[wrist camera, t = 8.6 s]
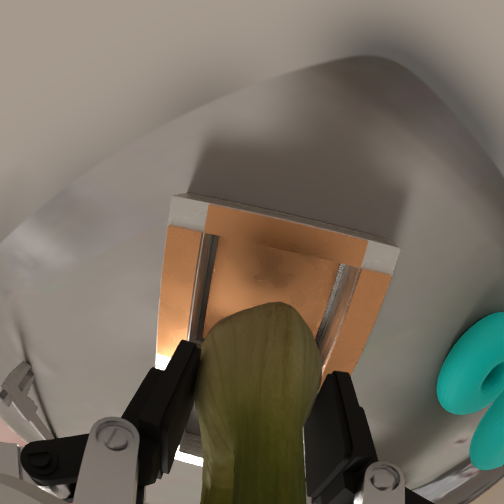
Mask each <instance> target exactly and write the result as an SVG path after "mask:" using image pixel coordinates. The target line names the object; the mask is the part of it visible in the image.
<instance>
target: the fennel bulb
mask: <svg viewBox="0 0 504 504" xmlns="http://www.w3.org/2000/svg"><path fill="white" fill-rule="evenodd" d="M321 381H322V360H321V355H320V351H319V348H318V346H317V344H316V342H315V339H314V336H313V334H312V332H311V330H310V328H309V327H308V325H307V323H306V322H305V320H304V319H303V318H302V317H301V315H300V314H299V313H298V311H297V310H296V309H295V308H294V307H292V306H291V305H289V304H286V303H283V302H268V303H265V304H262V305H258V306H255V307H252V308H248V309H245V310H242V311H239V312H236V313H234V314H232V315H229V316H227V317H225V318H222V319H221V320H219V321H218V322H217V323H216V324H215V325H214V326H213V327H212V328H211V330H210V331H209V332H208V334H207V336H206V338H205V339H204V341H203V343H202V345H201V357H200V363H199V366H198V370H197V375H196V380H195V384H194V400H195V406H196V412H197V416H198V419H199V425H200V432H201V440H202V452H203V465H202V468H203V473H202V482H203V483H202V493H201V502H200V504H306V484H305V473H304V472H305V470H304V469H305V466H304V444H303V426H304V424H305V423H306V421H307V418H308V416H309V415H310V413H311V411H312V409H313V406H314V404H315V401H316V399H317V394H318V391H319V389H320V385H321Z"/></svg>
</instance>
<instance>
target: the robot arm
mask: <svg viewBox="0 0 504 504" xmlns="http://www.w3.org/2000/svg"><path fill="white" fill-rule="evenodd" d="M200 357H201V348H197V344H196V343H194V342H190V341H186V340H183V339H182V340H181V341H180V343H179V344H178V346H177V348H176V350H175V352H174V353H173V355H172V357H171V359H170V361H169V363H168V364H167V366H166V368H165V370H161V369H158V368H155V367H152V368H151V369H150V370H149V372H148V374H147V375H146V377H145V379H144V380H143V382H142V383H141V385H140V387H139V388H138V390H137V392H136V393H135V395H134V397H133V398H132V400H131V402H130V403H129V405H128V407H127V408H126V410H125V412H124V414H123V415H122V417H121V418H119V417H105V418H102V419H100V420H98V421H97V422H96V423H94V424H93V426H92V428H91V430H90V433H89V434H83V435H77V436H71V437H64V438H57V439H50V440H41V441H34V442H30V443H29V444H27V445H25V447H19V446H18V444H14V443H4V442H0V504H70V503H73V504H145V501H146V486H147V485H150V484H153V483H155V481H156V479H157V478H158V479H161V478H162V475H163V473H166V474H169V472H170V470H171V467H172V464H173V461H174V458H175V456H176V453H177V450H178V447H179V444H180V441H181V439H182V436H183V433H184V430H185V427H186V424H187V421H188V419H189V416H190V413H191V410H192V407H193V404H194V384H195V380H196V375H197V370H198V366H199V363H200ZM304 445H305V464H306V482H305V484H306V504H434V503H432V502H430V501H429V500H427V499H425V498H423V497H422V496H420V495H418V494H416V493H415V492H413V491H411V490H409V489H408V488H406V487H405V480H404V475H403V473H402V471H401V469H400V468H399V467H398V466H397V465H395V464H393V463H391V462H387V461H378V458H377V455H376V451H375V447H374V443H373V440H372V436H371V433H370V429H369V426H368V422H367V419H366V415H365V412H364V410H363V408H362V407H360V406H359V404H358V400H357V397H356V393H355V390H354V387H353V383H352V380H351V377H350V374H349V373H348V372H343V371H333V372H332V374H327V376H326V378H325V380H324V382H323V384H322V386H321V388H320V390H319V392H318V395H317V399H316V401H315V404H314V406H313V409H312V411H311V413H310V415H309V416H308V418H307V421H306V423H305V424H304Z"/></svg>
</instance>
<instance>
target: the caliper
mask: <svg viewBox="0 0 504 504" xmlns="http://www.w3.org/2000/svg"><path fill="white" fill-rule="evenodd" d="M30 367H31V365H29V364H28V363H26V362H24V361H23V362H22V363H20V364H19V365H18V366H17V367H16V368H15V369H14V370H13V371H11V372H10V373H9V375H8V376H7V378H6V379H5V381H4V382H3V384H2V385H1V387H2V389H3V390H2V391H1V393H0V398H1V399H2V400H3V403H4V404H5V405H6V406H7V407H9V406H10V404H11V403H12V404H13V406H14V407H15V408H16V409H17V411H18V412H19V413H20V415H21V416H22V417H23V418H24V419H25V420H26V421H28V422H30V423H31V425H32V426H33V427H34V428H35V430H36V431H37V432H38V433H39V434H40V436H41V437H42V438H43V439H44V440H50V439H55V438H54V437H53V435H52V434H51V433H50V432H49V430H48V429H47V428H46V426H45V425H44V424H43V422H42V421H41V419H40V418H39V417H38V415H37V414H36V410H37V409H38V407H37V406H36V405H35V404H34V401H33V400H31V399H30V398H29V397H28V396H27V395H28V392H29V390H30V387H31V385H32V383H33V380H34V378H35V377H34V374H32V373H31V372H29V371H28V370H29V369H30ZM26 373H27V374H26Z"/></svg>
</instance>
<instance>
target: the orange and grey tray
mask: <svg viewBox="0 0 504 504" xmlns="http://www.w3.org/2000/svg"><path fill="white" fill-rule="evenodd" d="M213 235H217V236H219V240H218V246H217V251H216V257H215V263H214V268H213V274H212V280H211V286H210V292H209V298H208V304H207V311H206V317H205V323H204V330H203V336H202V338H206V336H207V334H208V332H209V331H210V330H211V328H212V327H213V326H214V325H215V324H216V323H217V322H218V321H219V320H221V319H222V318H225V317H227V316H229V315H232V314H234V313H236V312H239V311H242V310H245V309H248V308H252V307H255V306H258V305H262V304H265V303H268V302H283V303H286V304H289V305H291V306H292V307H294V308H295V309H296V310H297V311H298V313H299V314H300V315H301V317H302V318H303V319H304V320H305V322H306V323H307V325H308V327H309V328H310V330H311V332H312V334H313V336H314V339H315V338H316V335H317V332H318V329H319V327H320V324H321V321H322V318H323V315H324V312H325V309H326V306H327V303H328V300H329V297H330V294H331V291H332V288H333V285H334V282H335V278H336V275H337V272H338V269H339V265H340V263H341V264H345V267H344V270H343V274H342V277H341V280H340V283H339V286H338V290H337V293H336V296H335V299H334V302H333V305H332V308H331V310H330V313H329V316H328V319H327V322H326V325H325V327H324V330H323V333H322V336H321V338H320V341H319V344H318V348H319V351H320V355H321V360H322V381H321V385H320V388H321V386H322V384H323V382H324V380H325V378H326V376H327V374H332V372H333V371H343V372H348V373H349V374H350V376H351V374H352V372H353V370H354V368H355V366H356V364H357V362H358V359H359V357H360V355H361V353H362V351H363V348H364V346H365V344H366V342H367V339H368V337H369V335H370V332H371V330H372V328H373V325H374V323H375V320H376V318H377V315H378V313H379V310H380V308H381V305H382V303H383V300H384V297H385V295H386V292H387V289H388V286H389V283H390V281H391V278H392V274H393V272H394V269H395V265H396V262H397V259H398V256H399V253H400V250H401V248H399V247H398V246H396V245H395V244H393V243H391V242H390V241H388V240H387V239H385V238H382V237H378V236H374V235H371V234H367V233H363V232H359V231H356V230H352V229H348V228H344V227H340V226H336V225H332V224H328V223H324V222H320V221H316V220H312V219H308V218H304V217H299V216H295V215H291V214H286V213H282V212H278V211H273V210H269V209H264V208H260V207H255V206H250V205H246V204H241V203H236V202H231V201H227V200H222V199H217V198H212V197H207V196H201V195H196V194H191V193H183V194H178V195H173V196H172V198H171V205H170V211H169V218H168V225H167V232H166V240H165V248H164V257H163V266H162V275H161V286H160V298H159V311H158V326H157V346H156V368H158V369H161V370H165V368H166V366H167V364H168V363H169V361H170V359H171V357H172V355H173V353H174V352H175V350H176V348H177V346H178V344H179V343H180V341H181V340H182V339H183V340H186V341H190V342H194V343H196V344H197V348H201V345H202V343H203V341H201V340H197V333H198V326H199V319H200V312H201V306H202V299H203V293H204V286H205V280H206V274H207V268H208V262H209V256H210V250H211V244H212V239H213ZM319 390H320V389H319ZM318 392H319V391H318ZM317 395H318V394H317ZM303 444H304V426H303ZM304 456H305V445H304ZM175 459H178V460H181V461H185V462H189V463H192V464H196V465H200V466H202V465H203V452H202V440H201V436H198V435H194V434H191V433H187V432H186V427H185V430H184V433H183V436H182V439H181V441H180V444H179V447H178V450H177V453H176V456H175Z"/></svg>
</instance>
